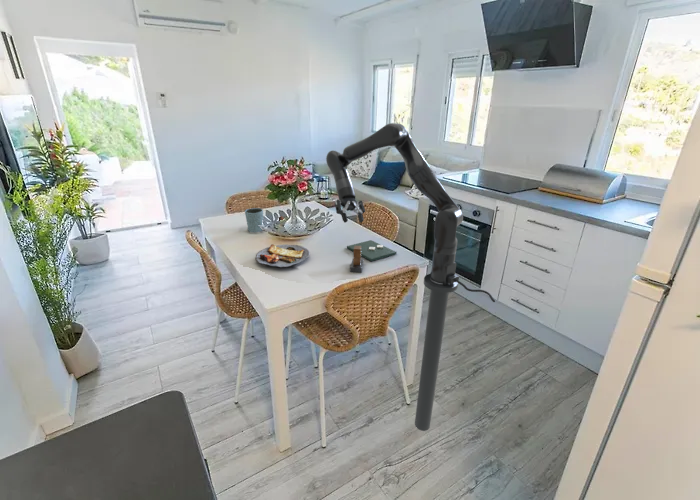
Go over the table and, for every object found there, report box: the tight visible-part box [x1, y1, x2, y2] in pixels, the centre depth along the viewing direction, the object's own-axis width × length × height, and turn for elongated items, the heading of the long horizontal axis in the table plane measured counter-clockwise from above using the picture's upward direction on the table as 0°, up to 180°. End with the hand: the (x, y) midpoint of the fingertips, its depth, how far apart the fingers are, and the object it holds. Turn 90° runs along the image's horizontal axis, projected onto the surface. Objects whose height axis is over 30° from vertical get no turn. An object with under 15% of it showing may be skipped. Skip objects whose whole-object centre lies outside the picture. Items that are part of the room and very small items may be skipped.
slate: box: [346, 239, 397, 262], centre depth 176 cm, size 20×16×1 cm
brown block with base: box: [349, 246, 365, 274], centre depth 155 cm, size 5×10×10 cm, turn 173°
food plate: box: [254, 243, 311, 268], centre depth 165 cm, size 25×23×4 cm
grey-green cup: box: [244, 207, 264, 233], centre depth 200 cm, size 10×10×12 cm
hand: (354, 221), depth 156 cm, fingers open, 8 cm apart
